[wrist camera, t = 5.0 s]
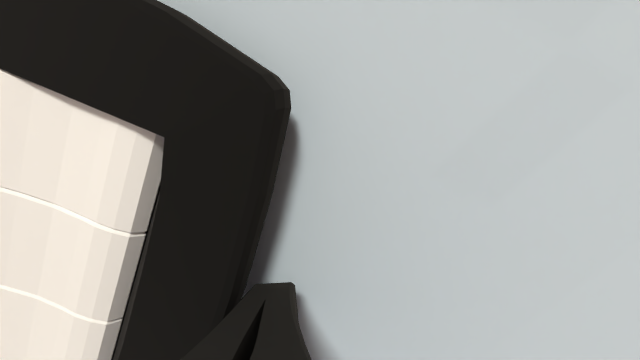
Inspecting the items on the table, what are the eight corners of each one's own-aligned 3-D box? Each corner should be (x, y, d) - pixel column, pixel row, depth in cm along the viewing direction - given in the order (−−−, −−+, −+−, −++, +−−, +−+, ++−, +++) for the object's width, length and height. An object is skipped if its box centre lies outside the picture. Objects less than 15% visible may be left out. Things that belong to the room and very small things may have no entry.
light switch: (-289, -200, 7) (327, 56, 7) (-97, -109, 9) (334, 71, 9) (-231, 447, 11) (121, 597, 11) (-116, 380, 14) (166, 500, 14)
